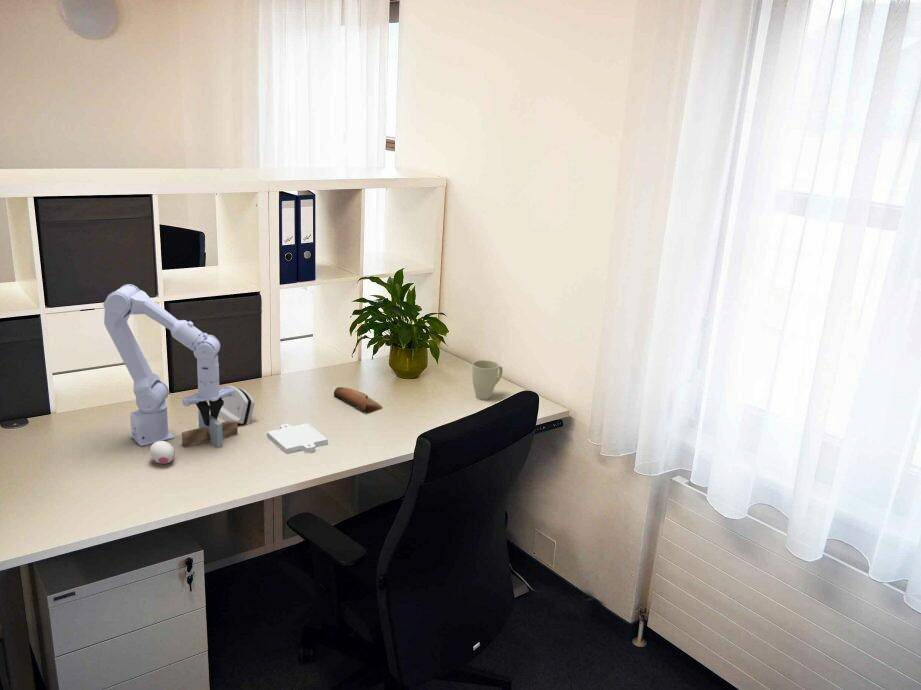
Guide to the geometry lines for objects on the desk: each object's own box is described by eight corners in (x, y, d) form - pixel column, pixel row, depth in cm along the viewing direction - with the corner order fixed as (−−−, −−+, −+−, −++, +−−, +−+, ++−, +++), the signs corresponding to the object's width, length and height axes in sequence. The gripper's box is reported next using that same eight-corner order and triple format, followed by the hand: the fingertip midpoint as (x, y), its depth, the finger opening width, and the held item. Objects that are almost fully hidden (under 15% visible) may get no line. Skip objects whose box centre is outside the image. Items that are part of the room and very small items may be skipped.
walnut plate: (184, 447, 217) (183, 434, 216) (182, 445, 218) (181, 432, 217) (237, 433, 228) (237, 421, 226) (235, 432, 229) (235, 419, 227)
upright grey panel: (217, 447, 218) (216, 424, 216) (199, 432, 227) (198, 410, 224) (222, 446, 219) (222, 423, 217) (204, 431, 228) (203, 409, 225)
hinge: (208, 409, 243) (218, 379, 242) (222, 411, 246) (231, 381, 246) (235, 427, 231) (244, 396, 231) (248, 429, 235) (258, 397, 234)
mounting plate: (331, 448, 223) (332, 442, 223) (290, 458, 216) (290, 452, 215) (303, 426, 237) (303, 420, 236) (263, 434, 229) (263, 428, 229)
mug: (497, 403, 263) (500, 370, 260) (468, 400, 265) (470, 367, 261) (500, 392, 274) (503, 360, 270) (473, 389, 275) (475, 357, 271)
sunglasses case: (386, 408, 253) (378, 393, 249) (370, 422, 250) (362, 408, 246) (353, 391, 265) (345, 377, 261) (338, 404, 262) (330, 391, 258)
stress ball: (175, 476, 208) (188, 454, 209) (150, 467, 202) (164, 445, 203) (164, 464, 213) (177, 443, 214) (139, 455, 207) (152, 433, 208)
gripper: (189, 388, 210) (191, 434, 214) (239, 378, 219) (240, 423, 223) (178, 380, 215) (180, 426, 219) (227, 371, 224) (228, 414, 228)
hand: (210, 424), depth 221 cm, fingers closed on upright grey panel, 1 cm apart
